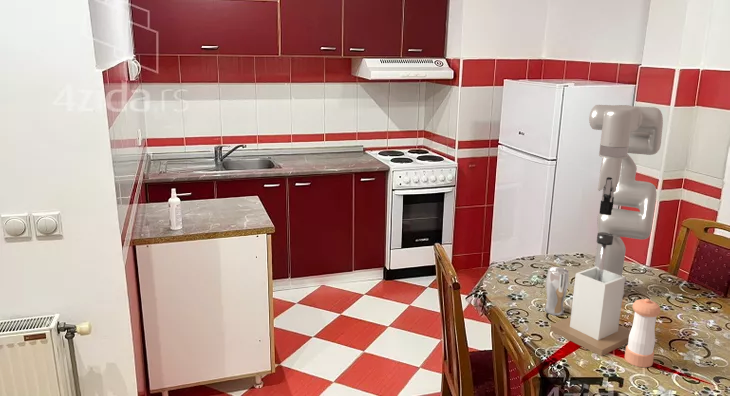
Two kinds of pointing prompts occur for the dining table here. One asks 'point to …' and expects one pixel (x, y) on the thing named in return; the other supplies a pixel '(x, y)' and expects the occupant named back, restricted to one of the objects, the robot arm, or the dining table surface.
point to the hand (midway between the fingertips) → (606, 211)
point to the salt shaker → (642, 333)
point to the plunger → (603, 250)
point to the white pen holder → (595, 313)
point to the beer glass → (556, 289)
